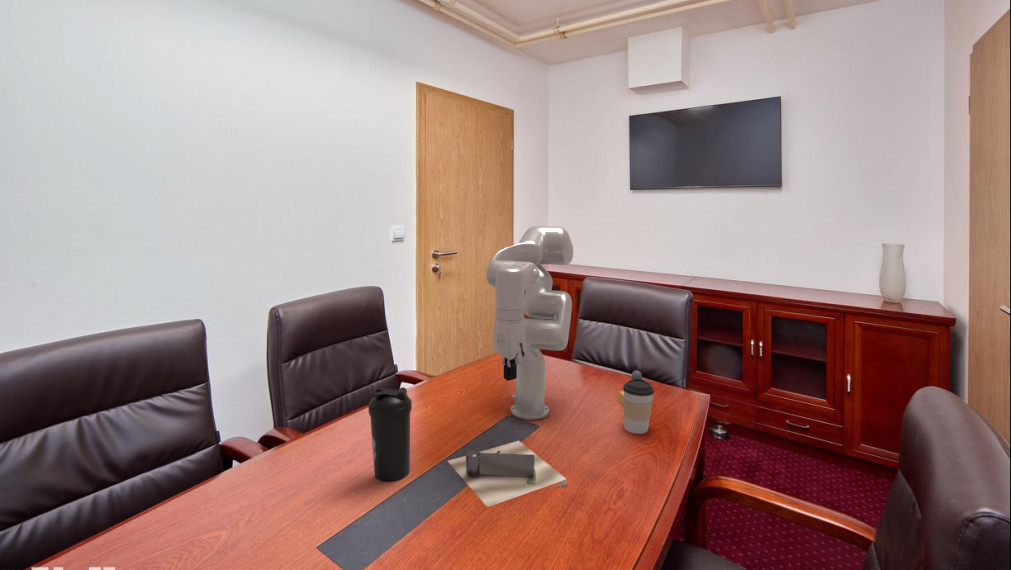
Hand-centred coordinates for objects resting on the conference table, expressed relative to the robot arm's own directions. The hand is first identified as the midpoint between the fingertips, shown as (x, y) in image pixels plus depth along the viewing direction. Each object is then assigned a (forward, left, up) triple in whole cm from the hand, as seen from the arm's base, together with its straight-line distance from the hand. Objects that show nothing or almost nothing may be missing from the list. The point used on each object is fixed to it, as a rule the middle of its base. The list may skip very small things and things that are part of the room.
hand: (510, 378), depth 127 cm
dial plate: (+10, -7, -21) cm, 24 cm away
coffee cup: (+8, +41, -21) cm, 47 cm away
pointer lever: (+11, -10, -19) cm, 24 cm away
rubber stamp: (-6, +55, -22) cm, 59 cm away
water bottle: (-3, -32, -21) cm, 39 cm away
